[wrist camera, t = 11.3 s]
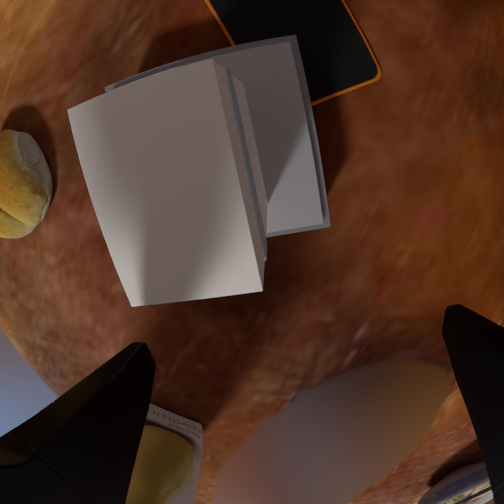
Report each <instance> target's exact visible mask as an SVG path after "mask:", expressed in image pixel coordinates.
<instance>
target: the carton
mask: <svg viewBox="0 0 504 504" xmlns="http://www.w3.org/2000/svg"><path fill="white" fill-rule="evenodd" d="M67 111H68V115H69V120H70V124H71V128H72V132H73V136H74V140H75V144H76V148H77V152H78V156H79V160H80V163H81V167H82V170H83V174H84V177H85V181H86V184H87V187H88V191H89V194H90V197H91V200H92V203H93V206H94V209H95V212H96V215H97V218H98V221H99V224H100V227H101V230H102V233H103V236H104V238H105V241H106V244H107V247H108V249H109V252H110V255H111V257H112V260H113V262H114V265H115V267H116V270H117V272H118V275H119V277H120V280H121V282H122V285H123V287H124V290H125V292H126V294H127V297H128V299H129V301H130V304H131V306H132V307H135V306H144V305H154V304H163V303H172V302H181V301H190V300H198V299H206V298H214V297H222V296H230V295H238V294H245V293H253V292H260V291H263V281H264V264H265V261H266V260H267V241H266V228H267V210H268V202H267V197H266V191H265V186H264V181H263V176H262V171H261V166H260V161H259V156H258V151H257V146H256V141H255V137H254V132H253V127H252V122H251V117H250V113H249V108H248V103H247V98H246V94H245V89H244V84H243V83H242V82H241V81H239V80H238V79H237V78H236V77H235V76H233V75H232V73H231V70H230V69H228V68H227V67H226V66H224V67H222V66H221V65H220V64H219V63H217V62H216V61H215V60H213V59H208V60H204V61H200V62H197V63H193V64H189V65H186V66H182V67H179V68H175V69H172V70H169V71H165V72H162V73H159V74H156V75H153V76H150V77H147V78H144V79H141V80H139V81H136V82H133V83H130V84H128V85H125V86H122V87H120V88H117V89H114V90H112V91H109V92H107V93H105V94H102V95H100V96H97V97H95V98H93V99H90V100H88V101H86V102H84V103H81V104H79V105H77V106H75V107H73V108H71V109H68V110H67Z"/></svg>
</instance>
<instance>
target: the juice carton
mask: <svg viewBox="0 0 504 504" xmlns="http://www.w3.org/2000/svg"><path fill="white" fill-rule="evenodd" d="M202 450H203V434H202V425H201V424H200V423H198V422H195V421H193V420H190V419H187V418H185V417H182V416H179V415H177V414H174V413H172V412H169V411H167V410H165V409H163V408H160V407H158V406H156V405H154V404H152V403H150V405H149V410H148V414H147V418H146V422H145V426H144V429H143V433H142V437H141V441H140V445H139V449H138V453H137V457H136V461H135V465H134V469H133V473H132V477H131V481H130V486H129V490H128V494H127V499H126V503H125V504H193V503H194V498H195V492H196V487H197V481H198V476H199V470H200V465H201V459H202Z"/></svg>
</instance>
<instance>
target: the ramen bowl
mask: <svg viewBox="0 0 504 504" xmlns="http://www.w3.org/2000/svg"><path fill="white" fill-rule="evenodd" d="M492 498H493V493H492V489H491V485H490V481H489V477H488V474H487V470H486V466H485V463H484V462H481V463H477V464H469V465H465V466H463V467H460V468H458V469H456V470H454V471H452V472H451V473H449V474H447V475H446V476H445V477H443V478H442V479H441V480H440V482H438V483H437V484H436V485H435V486H434V487H432V488H431V489H430V490H428V491H427V492H426V493H425V494H424V495H423V496H422V497H421V499H420V500H419V502H418V504H484V503H486V502H487V501H489V500H491V499H492Z"/></svg>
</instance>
